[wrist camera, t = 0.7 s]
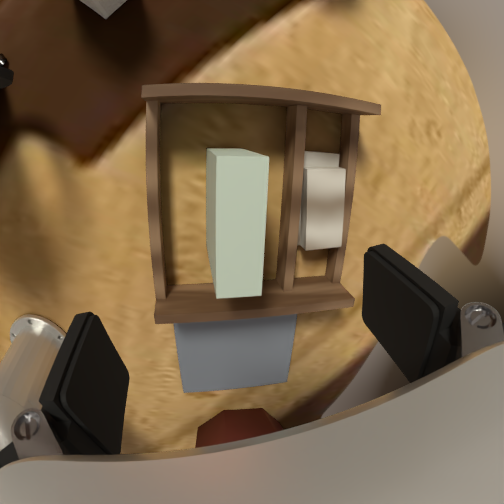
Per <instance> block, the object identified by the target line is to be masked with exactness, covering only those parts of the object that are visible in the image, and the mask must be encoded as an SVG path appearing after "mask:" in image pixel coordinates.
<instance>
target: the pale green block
mask: <svg viewBox="0 0 504 504" xmlns="http://www.w3.org/2000/svg"><path fill="white" fill-rule="evenodd" d="M268 172H269V157H268V156H265V155H262V154H258V153H255V152H252V151H249V150H245V149H242V148H207V155H206V245H207V251H208V256H209V262H210V267H211V273H212V278H213V283H214V288H215V293H216V299H218V298H234V297H249V296H262V280H263V263H264V246H265V229H266V210H267V192H268Z"/></svg>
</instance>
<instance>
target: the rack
mask: <svg viewBox="0 0 504 504" xmlns="http://www.w3.org/2000/svg"><path fill="white" fill-rule="evenodd" d="M142 98H143V99H144V100H145V101H147V103H146V182H147V205H148V222H149V235H150V248H151V258H152V268H153V278H154V286H155V294H156V304H155V312H154V318H155V324H168V323H190V322H207V321H223V320H236V319H249V318H260V317H271V316H281V315H291V314H300V313H309V312H317V311H325V310H333V309H340V308H348V307H353V305H354V301H355V298H354V297H353V296H352V295H351V294H350V293H349V292H348V291H347V290H346V289H345V288H344V287H343V286H342V285H341V284H340V279H341V274H342V268H343V262H344V256H345V250H346V244H347V237H348V230H349V223H350V216H351V208H352V200H353V191H354V182H355V173H356V162H357V151H358V137H359V122H360V115H381V105H380V104H375V103H371V102H367V101H362V100H357V99H353V98H348V97H342V96H337V95H331V94H325V93H319V92H313V91H306V90H298V89H290V88H281V87H271V86H259V85H244V84H221V83H178V84H155V85H142ZM170 103H236V104H256V105H271V106H282V107H287V119H286V139H285V158H284V175H283V191H282V206H281V220H280V234H279V248H278V261H277V273H276V279H273V280H262V296H249V297H234V298H218V299H216V293H215V288H214V283H205V284H184V285H167V281H166V270H165V258H164V245H163V229H162V209H161V180H160V118H161V104H170ZM307 109H310V110H318V111H325V112H332V113H338V114H342V124H341V140H340V154H339V167H340V168H344V169H346V175H345V199H344V217H343V232H342V245H341V247H333V248H329V253H328V260H327V267H326V274H325V276H314V277H301V278H294V271H295V261H296V252H297V242H298V231H299V220H300V209H301V197H302V184H303V170H304V156H305V140H306V122H307Z"/></svg>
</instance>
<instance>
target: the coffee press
mask: <svg viewBox="0 0 504 504" xmlns="http://www.w3.org/2000/svg"><path fill="white" fill-rule="evenodd" d="M6 61H7V59H6V58H5V56H4V55H3V54H2V53H1V54H0V89H2V88H4V87H7V86H9V85H11V84H12V82H13V75H14V72H13V71H12V70H10V69H7V68H4V67H2V66H3V65H4V64H5V63H6Z"/></svg>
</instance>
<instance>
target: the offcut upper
mask: <svg viewBox="0 0 504 504" xmlns="http://www.w3.org/2000/svg"><path fill="white" fill-rule="evenodd" d="M345 175H346V169H344V168H340V167H304V170H303V184H302V197H301V233H300V245H301V246H302V247H303V248H304V249H305V250H306V251H307V250H316V249H324V248H333V247H341V245H342V232H343V217H344V199H345Z"/></svg>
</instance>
